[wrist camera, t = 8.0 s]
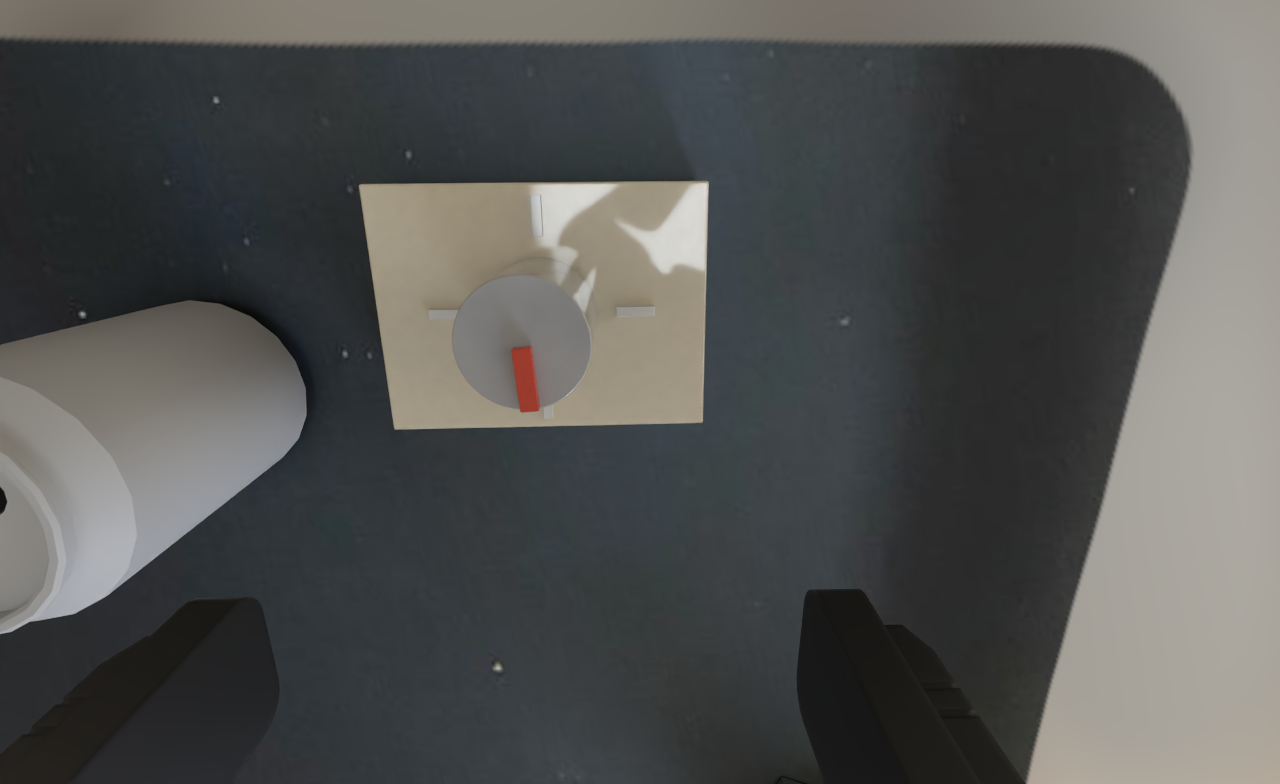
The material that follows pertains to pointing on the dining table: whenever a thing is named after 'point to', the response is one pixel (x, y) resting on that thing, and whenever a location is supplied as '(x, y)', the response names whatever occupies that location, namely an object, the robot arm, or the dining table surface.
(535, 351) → the dial
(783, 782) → the tap bracket
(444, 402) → the panel
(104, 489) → the can
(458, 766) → the dining table surface
